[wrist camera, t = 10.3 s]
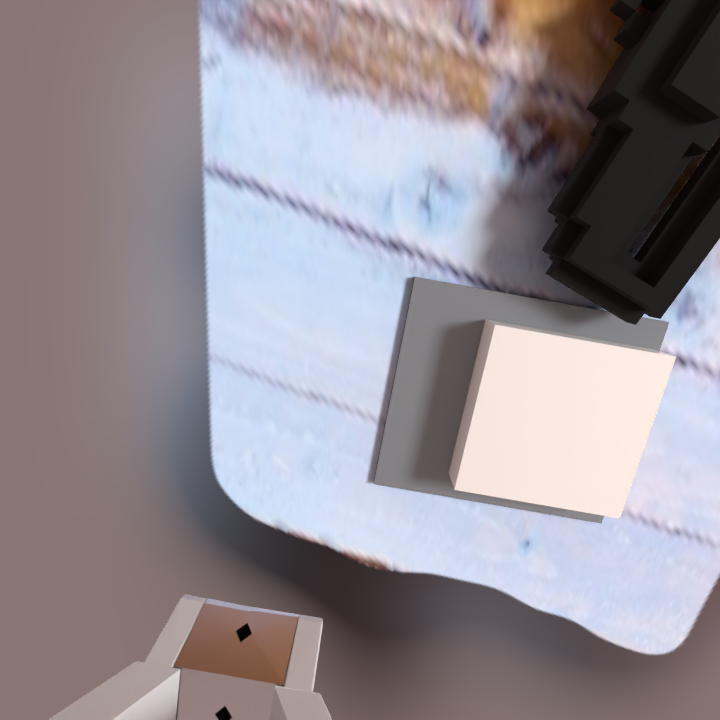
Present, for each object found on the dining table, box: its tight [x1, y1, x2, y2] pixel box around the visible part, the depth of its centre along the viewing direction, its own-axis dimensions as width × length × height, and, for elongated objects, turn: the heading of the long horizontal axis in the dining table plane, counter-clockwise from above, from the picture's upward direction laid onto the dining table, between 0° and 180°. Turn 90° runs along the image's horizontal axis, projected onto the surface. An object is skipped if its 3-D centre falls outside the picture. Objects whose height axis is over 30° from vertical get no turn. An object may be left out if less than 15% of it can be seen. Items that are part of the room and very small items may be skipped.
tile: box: [449, 320, 676, 518], centre depth 31 cm, size 3×12×12 cm
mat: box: [374, 277, 669, 523], centre depth 33 cm, size 18×16×1 cm
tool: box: [542, 0, 720, 325], centre depth 26 cm, size 5×20×15 cm
